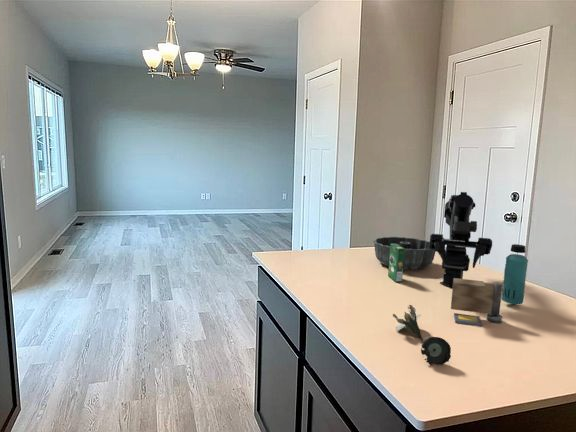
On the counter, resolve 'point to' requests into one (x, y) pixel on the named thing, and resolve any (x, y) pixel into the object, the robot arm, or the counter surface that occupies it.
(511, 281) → the beverage bottle
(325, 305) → the counter surface
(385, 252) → the bundt pan
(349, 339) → the counter surface
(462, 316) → the label plaque
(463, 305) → the brown wooden block
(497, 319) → the pivot foot
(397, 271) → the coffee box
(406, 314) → the artificial flower
